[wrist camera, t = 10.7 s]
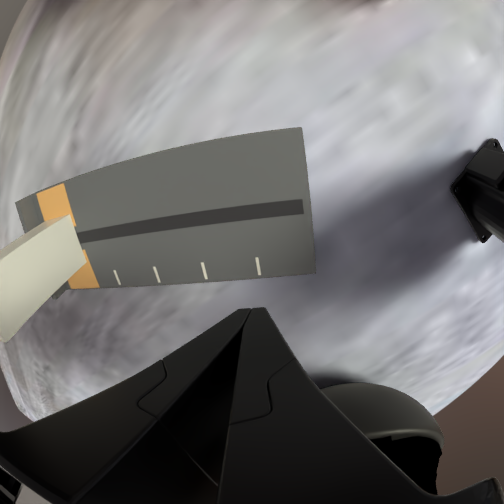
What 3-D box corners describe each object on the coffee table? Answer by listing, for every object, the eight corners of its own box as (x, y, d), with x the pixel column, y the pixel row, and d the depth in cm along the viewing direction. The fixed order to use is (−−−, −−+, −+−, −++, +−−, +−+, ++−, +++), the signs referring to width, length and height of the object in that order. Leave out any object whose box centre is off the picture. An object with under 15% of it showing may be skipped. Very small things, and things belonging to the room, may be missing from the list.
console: (300, 127, 17) (303, 128, 14) (314, 265, 21) (318, 287, 18) (36, 192, 21) (15, 202, 18) (69, 283, 25) (53, 299, 22)
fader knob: (69, 213, 20) (-28, 282, 10) (86, 262, 22) (5, 344, 12) (45, 220, 20) (-43, 283, 10) (62, 264, 22) (-14, 337, 12)
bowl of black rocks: (398, 425, 31) (415, 536, 14) (262, 439, 34) (247, 554, 17) (440, 325, 23) (508, 494, 6) (237, 346, 26) (195, 547, 9)
